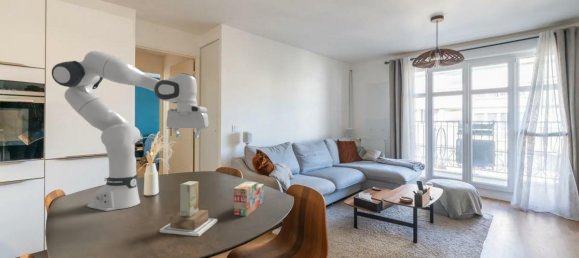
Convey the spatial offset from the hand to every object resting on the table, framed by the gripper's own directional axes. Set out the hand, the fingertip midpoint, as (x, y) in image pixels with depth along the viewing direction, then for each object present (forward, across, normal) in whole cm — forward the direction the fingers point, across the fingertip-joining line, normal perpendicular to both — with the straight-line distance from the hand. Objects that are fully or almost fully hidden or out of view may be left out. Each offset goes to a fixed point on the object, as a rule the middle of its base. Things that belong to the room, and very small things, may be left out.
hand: (187, 137), depth 122 cm
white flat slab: (+33, +14, -20) cm, 41 cm away
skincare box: (+28, +14, -20) cm, 37 cm away
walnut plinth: (+33, +14, -20) cm, 41 cm away
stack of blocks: (+34, +29, +6) cm, 45 cm away
